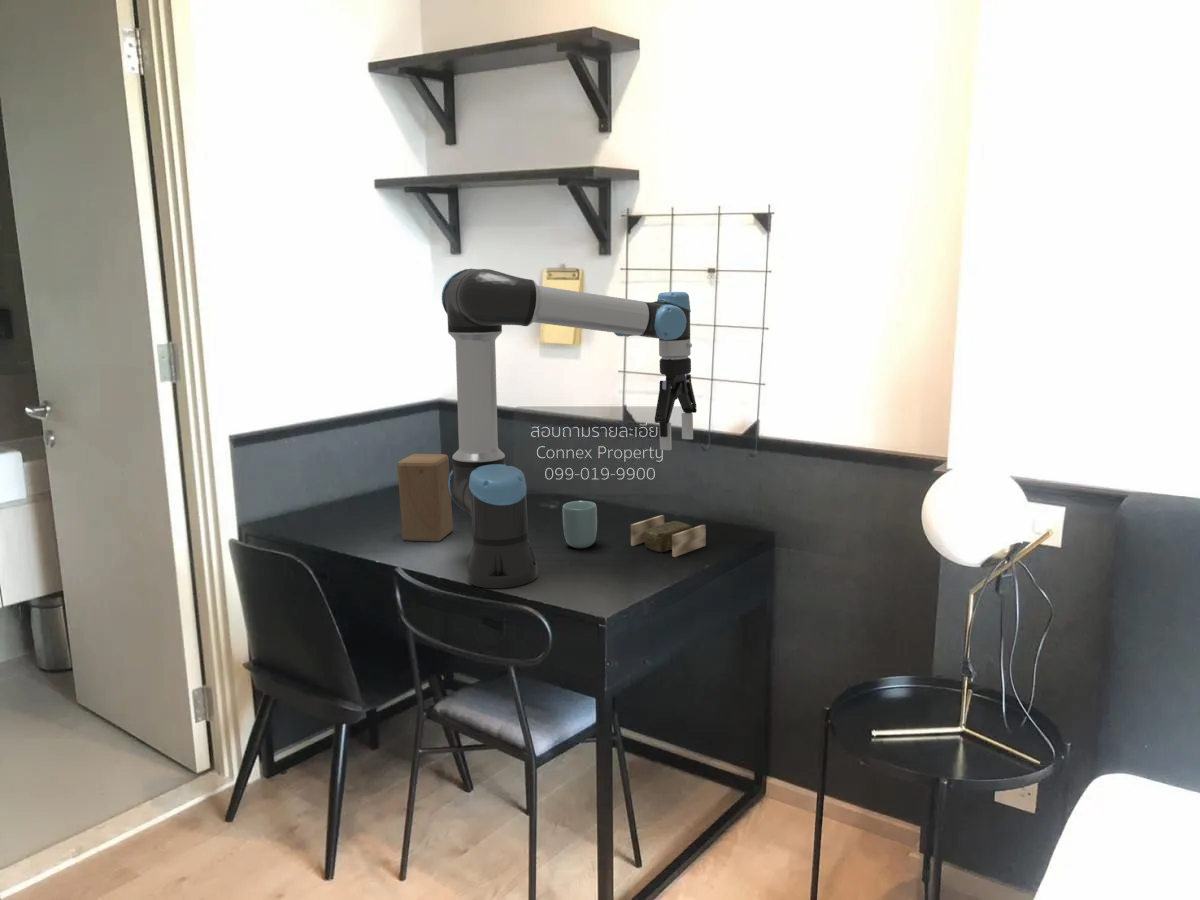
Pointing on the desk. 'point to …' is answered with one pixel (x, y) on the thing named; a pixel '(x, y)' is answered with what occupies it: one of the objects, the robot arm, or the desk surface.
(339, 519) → the desk surface
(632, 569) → the desk surface
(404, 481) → the wooden block
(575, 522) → the cup
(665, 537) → the stone block
